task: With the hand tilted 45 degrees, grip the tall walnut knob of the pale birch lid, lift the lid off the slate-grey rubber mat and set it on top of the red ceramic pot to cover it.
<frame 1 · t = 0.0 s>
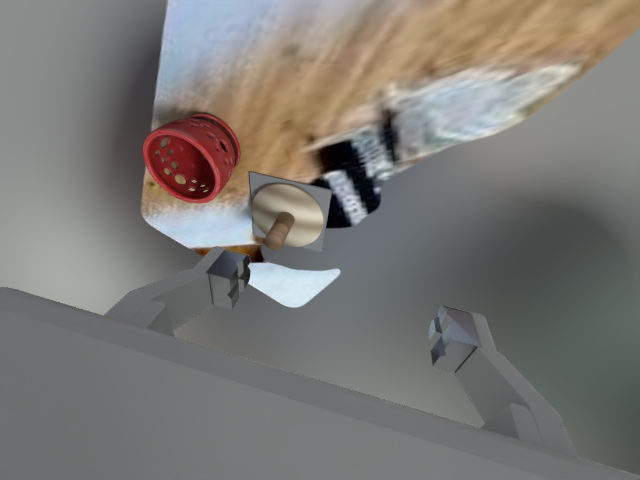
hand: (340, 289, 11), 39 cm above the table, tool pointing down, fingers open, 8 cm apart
birch lid: (288, 215, 60), resting on grey mat
grey mat: (288, 214, 60), on the table
plant pot: (218, 142, 53), on the table
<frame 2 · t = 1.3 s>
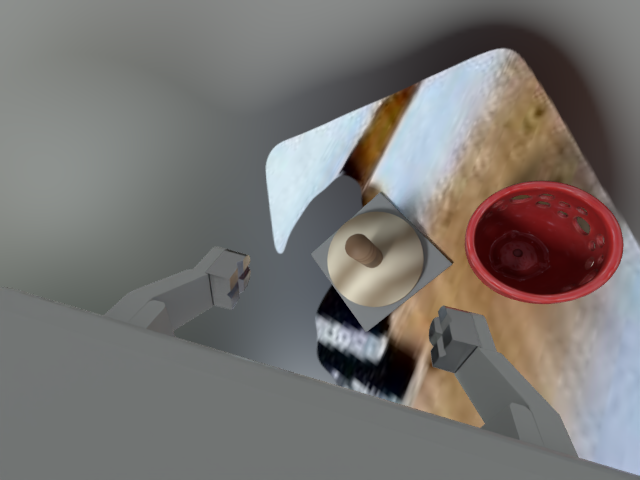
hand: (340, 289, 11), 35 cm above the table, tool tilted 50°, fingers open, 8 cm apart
birch lid: (373, 258, 46), resting on grey mat
grey mat: (374, 259, 47), on the table
plant pot: (513, 259, 39), on the table
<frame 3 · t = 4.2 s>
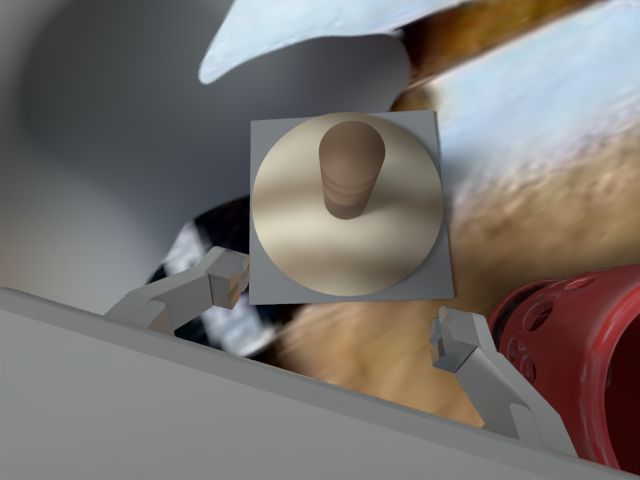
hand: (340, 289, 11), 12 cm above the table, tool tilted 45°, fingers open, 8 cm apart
birch lid: (345, 203, 24), resting on grey mat
grey mat: (345, 204, 24), on the table
plant pot: (540, 353, 22), on the table
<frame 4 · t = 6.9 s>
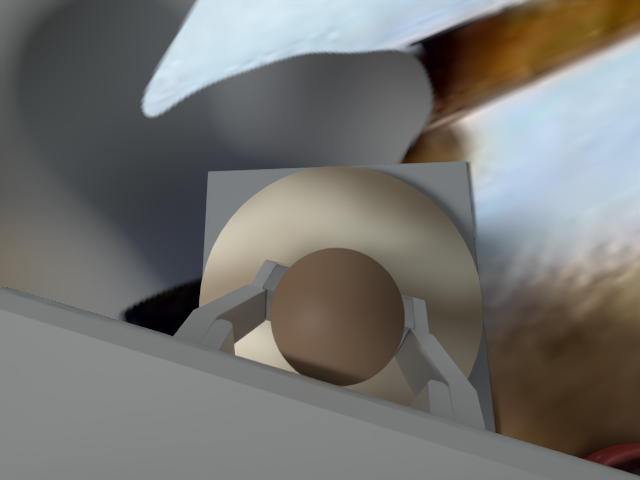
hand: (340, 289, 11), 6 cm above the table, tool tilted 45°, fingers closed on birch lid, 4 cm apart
birch lid: (336, 297, 17), resting on grey mat, touching gripper
grey mat: (336, 297, 17), on the table
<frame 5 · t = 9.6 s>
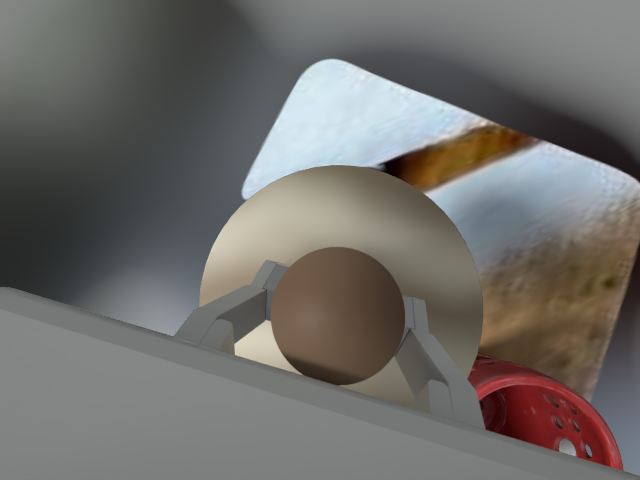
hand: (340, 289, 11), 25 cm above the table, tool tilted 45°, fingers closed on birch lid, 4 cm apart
birch lid: (336, 297, 17), point 20 cm above the table, touching gripper
plant pot: (466, 399, 33), on the table
when the fingers open (19 cm above the table, at t = 12.8 s): birch lid drops 2 cm, resting on plant pot.
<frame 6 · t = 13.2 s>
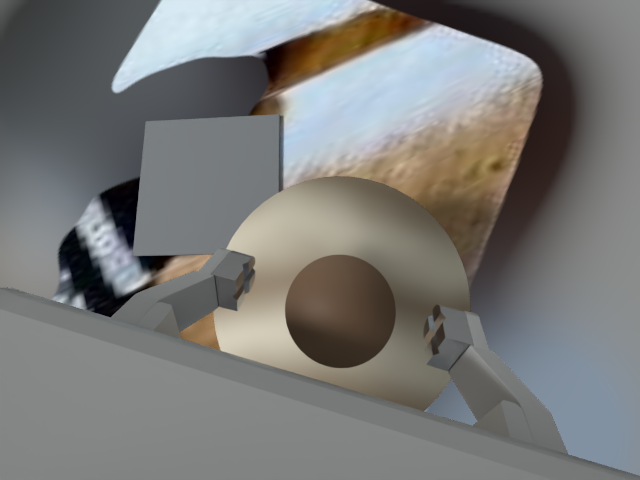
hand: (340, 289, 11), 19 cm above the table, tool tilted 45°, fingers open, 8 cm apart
birch lid: (338, 297, 18), point 12 cm above the table, touching plant pot
grey mat: (209, 184, 33), on the table
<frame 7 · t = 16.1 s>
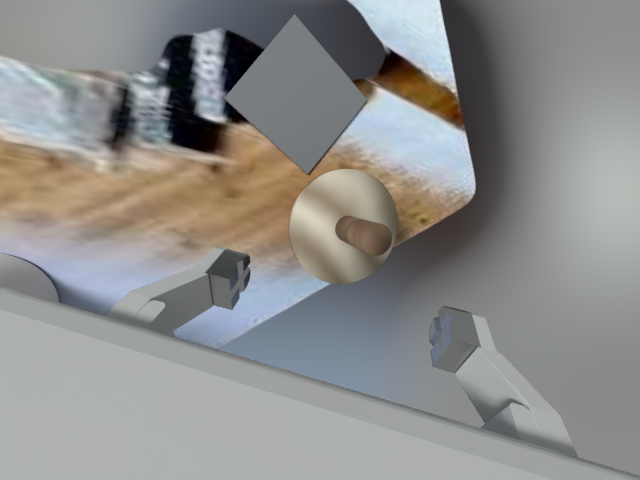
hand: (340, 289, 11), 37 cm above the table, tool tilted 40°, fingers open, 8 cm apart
birch lid: (344, 227, 39), point 12 cm above the table, touching plant pot
grey mat: (300, 99, 45), on the table
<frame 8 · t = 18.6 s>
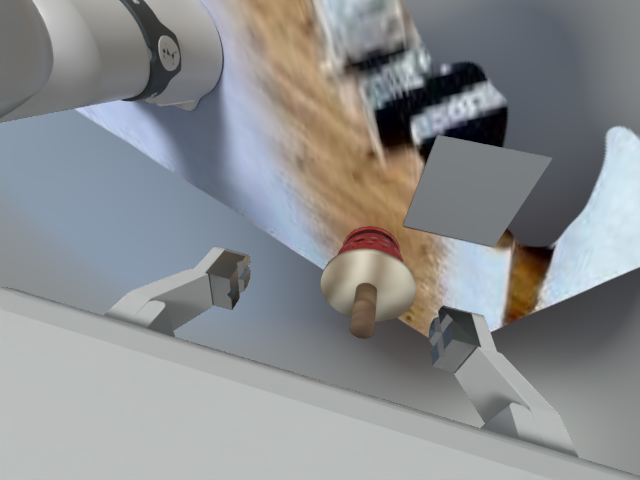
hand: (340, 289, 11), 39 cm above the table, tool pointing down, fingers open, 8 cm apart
birch lid: (367, 285, 48), point 12 cm above the table, touching plant pot
grey mat: (467, 195, 47), on the table
plant pot: (371, 244, 57), on the table, touching birch lid
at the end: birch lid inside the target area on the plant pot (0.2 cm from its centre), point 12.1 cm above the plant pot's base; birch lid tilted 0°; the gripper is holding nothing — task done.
